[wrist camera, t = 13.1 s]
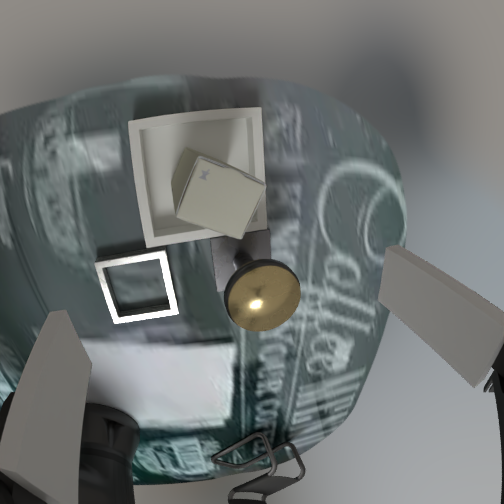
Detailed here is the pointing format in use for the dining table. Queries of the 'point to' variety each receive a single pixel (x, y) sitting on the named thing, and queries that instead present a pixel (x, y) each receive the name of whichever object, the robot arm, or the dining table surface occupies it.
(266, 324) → the mounted dome knob
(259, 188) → the box
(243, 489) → the chair
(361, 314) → the dining table surface
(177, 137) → the tray
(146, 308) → the pin seat
